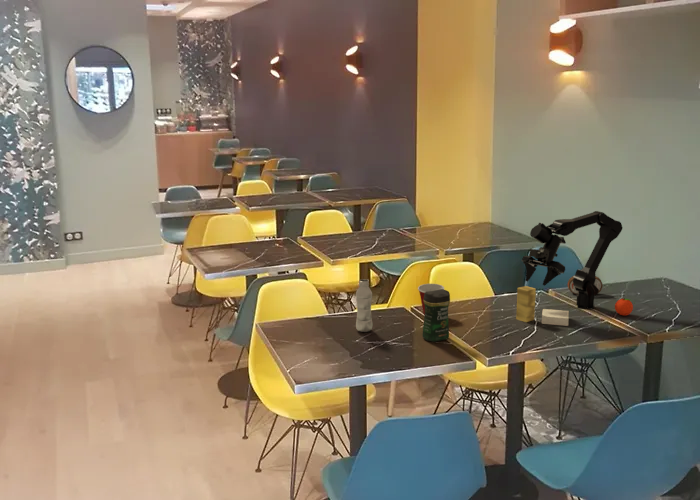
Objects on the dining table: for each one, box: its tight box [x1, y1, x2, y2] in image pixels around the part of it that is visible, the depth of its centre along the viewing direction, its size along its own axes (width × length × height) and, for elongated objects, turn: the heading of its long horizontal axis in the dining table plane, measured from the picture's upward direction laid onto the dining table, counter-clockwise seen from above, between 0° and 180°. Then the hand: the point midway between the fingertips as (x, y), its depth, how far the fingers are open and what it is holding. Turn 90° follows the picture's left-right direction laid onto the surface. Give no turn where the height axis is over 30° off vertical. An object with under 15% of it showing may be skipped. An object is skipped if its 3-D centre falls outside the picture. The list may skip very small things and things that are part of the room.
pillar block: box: [515, 285, 537, 323], centre depth 284 cm, size 5×5×13 cm
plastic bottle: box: [355, 278, 373, 333], centre depth 272 cm, size 6×7×20 cm
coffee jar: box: [421, 288, 451, 343], centre depth 263 cm, size 10×8×19 cm
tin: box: [566, 275, 603, 295], centre depth 320 cm, size 15×3×8 cm, turn 84°
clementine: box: [614, 298, 635, 316], centre depth 289 cm, size 8×7×7 cm
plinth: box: [541, 308, 570, 327], centre depth 284 cm, size 10×10×3 cm
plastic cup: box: [417, 283, 445, 316], centre depth 291 cm, size 11×11×12 cm
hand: (534, 283), depth 287 cm, fingers open, 9 cm apart
